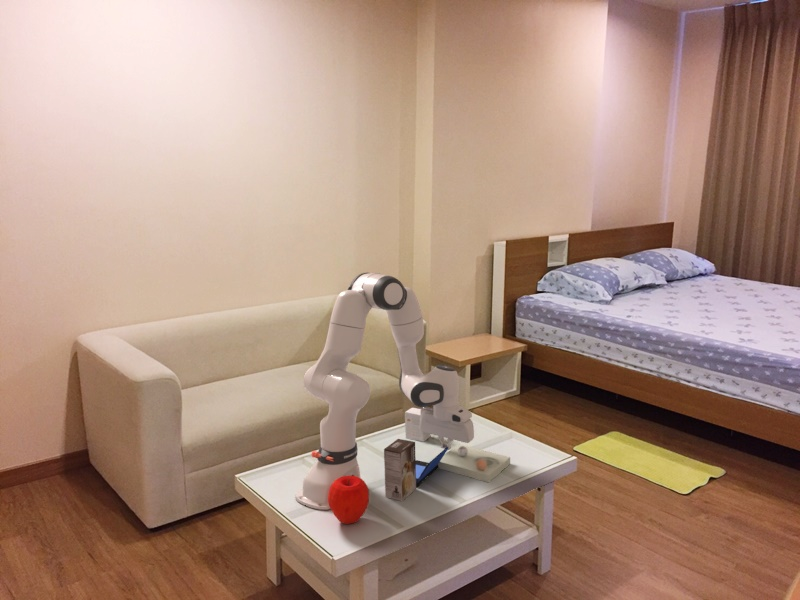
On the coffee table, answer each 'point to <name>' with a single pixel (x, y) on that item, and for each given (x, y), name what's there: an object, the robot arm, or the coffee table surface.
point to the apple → (348, 498)
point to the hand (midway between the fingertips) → (446, 448)
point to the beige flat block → (474, 463)
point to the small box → (414, 425)
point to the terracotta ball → (481, 464)
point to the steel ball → (462, 451)
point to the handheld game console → (427, 467)
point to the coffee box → (400, 469)
